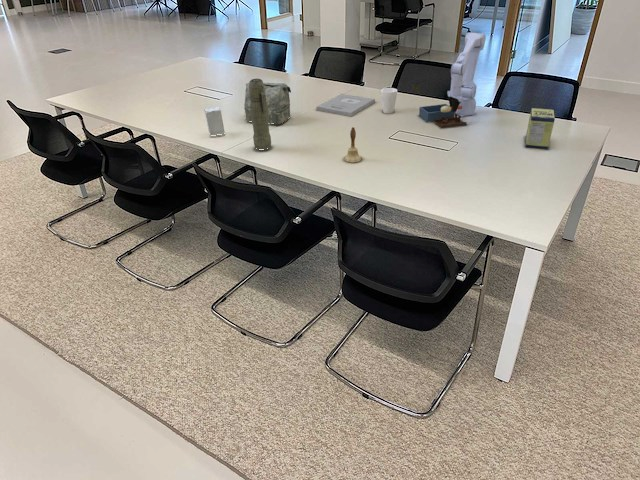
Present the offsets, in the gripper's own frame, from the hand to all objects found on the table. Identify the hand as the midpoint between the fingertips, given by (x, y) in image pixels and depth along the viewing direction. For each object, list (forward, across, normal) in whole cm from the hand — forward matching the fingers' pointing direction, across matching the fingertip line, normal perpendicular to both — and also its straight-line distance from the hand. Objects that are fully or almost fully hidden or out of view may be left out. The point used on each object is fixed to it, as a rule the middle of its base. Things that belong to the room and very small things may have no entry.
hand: (453, 110), depth 271 cm
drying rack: (+7, 0, -1) cm, 7 cm away
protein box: (+7, +39, +27) cm, 48 cm away
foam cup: (+8, -31, -26) cm, 41 cm away
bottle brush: (-2, 0, -2) cm, 2 cm away
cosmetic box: (+7, -26, -129) cm, 132 cm away
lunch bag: (+7, -41, -97) cm, 106 cm away
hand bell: (+7, +29, -67) cm, 74 cm away
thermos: (+7, +1, -107) cm, 107 cm away
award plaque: (+7, -50, -47) cm, 69 cm away
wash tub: (+7, -12, -4) cm, 15 cm away
